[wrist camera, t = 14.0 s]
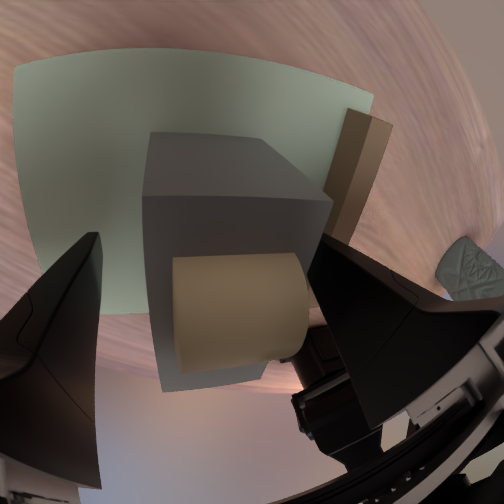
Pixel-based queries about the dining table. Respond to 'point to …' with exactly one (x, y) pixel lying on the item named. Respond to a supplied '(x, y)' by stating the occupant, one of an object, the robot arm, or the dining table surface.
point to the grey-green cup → (470, 272)
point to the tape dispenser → (226, 256)
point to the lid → (180, 121)
